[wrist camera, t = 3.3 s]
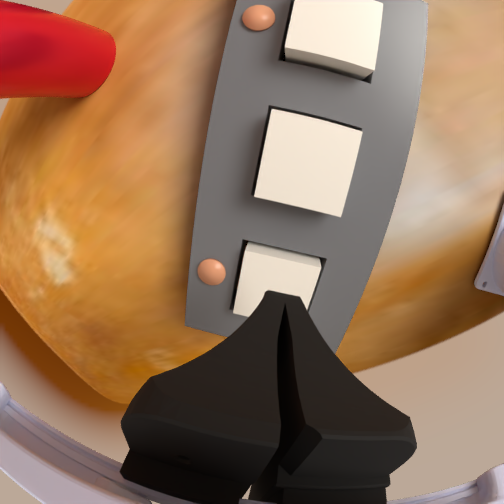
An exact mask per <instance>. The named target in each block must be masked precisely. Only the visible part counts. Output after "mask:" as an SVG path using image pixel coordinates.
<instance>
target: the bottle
mask: <svg viewBox="0 0 504 504" xmlns="http://www.w3.org/2000/svg"><path fill="white" fill-rule="evenodd" d="M115 55H116V46H115V42H114V39H113V37H112V36H111V35H110V34H109V33H108V32H106V31H104V30H101V29H99V28H96V27H94V26H91V25H88V24H86V23H83V22H80V21H77V20H75V19H72V18H69V17H66V16H63V15H59V14H56V13H53V12H49V11H46V10H43V9H39V8H35V7H31V6H27V5H23V4H18V3H14V2H9V1H4V0H0V99H2V98H23V97H63V98H82V97H85V96H88V95H90V94H92V93H93V92H94V91H96V90H97V89H98V88H99V87H100V86H101V85H102V84H103V83H104V81H105V80H106V78H107V77H108V75H109V73H110V71H111V69H112V67H113V64H114V60H115Z"/></svg>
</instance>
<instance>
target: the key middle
mask: <svg viewBox="0 0 504 504" xmlns="http://www.w3.org/2000/svg"><path fill="white" fill-rule="evenodd" d="M362 133H363V132H362V131H359V130H356V129H352V128H349V127H345V126H342V125H338V124H335V123H331V122H328V121H324V120H320V119H316V118H312V117H308V116H303V115H299V114H295V113H290V112H285V111H280V110H275V109H272V110H271V115H270V120H269V125H268V130H267V135H266V140H265V145H264V150H263V155H262V160H261V165H260V170H259V175H258V180H257V185H256V190H255V195H254V197H257V198H262V199H267V200H271V201H276V202H280V203H284V204H289V205H293V206H297V207H302V208H306V209H310V210H314V211H318V212H322V213H326V214H330V215H334V216H338V217H341V215H342V212H343V208H344V205H345V201H346V197H347V194H348V190H349V186H350V182H351V179H352V175H353V171H354V167H355V163H356V159H357V155H358V150H359V146H360V142H361V137H362Z"/></svg>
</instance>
